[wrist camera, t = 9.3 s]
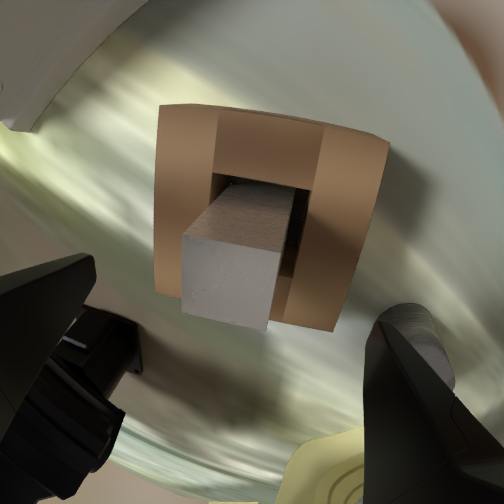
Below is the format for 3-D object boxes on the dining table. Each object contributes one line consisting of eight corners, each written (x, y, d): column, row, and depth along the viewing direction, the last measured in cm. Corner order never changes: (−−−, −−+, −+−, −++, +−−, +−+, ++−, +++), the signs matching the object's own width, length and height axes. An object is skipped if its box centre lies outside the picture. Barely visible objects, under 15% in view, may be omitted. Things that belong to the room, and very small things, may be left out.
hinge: (26, 135, 19) (-82, 131, 9) (21, 95, 19) (-75, 84, 9) (186, -27, 12) (69, -114, 3) (163, -53, 12) (66, -122, 3)
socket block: (331, 291, 20) (332, 332, 16) (180, 259, 21) (154, 292, 17) (372, 134, 15) (389, 142, 12) (191, 103, 16) (159, 105, 13)
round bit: (415, 355, 21) (431, 417, 16) (362, 348, 21) (369, 414, 16) (442, 308, 19) (469, 369, 14) (385, 297, 19) (402, 363, 14)
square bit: (288, 229, 18) (265, 331, 11) (238, 220, 19) (181, 312, 11) (296, 180, 17) (280, 253, 9) (243, 171, 17) (182, 234, 9)
